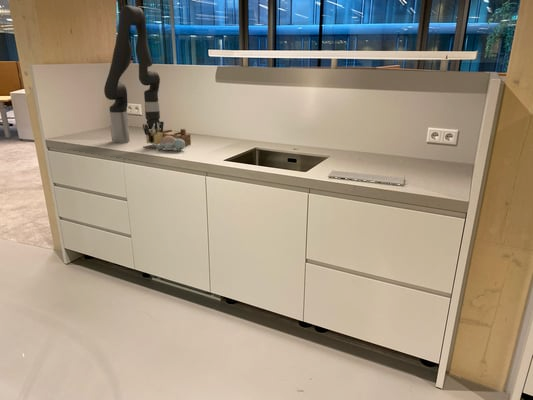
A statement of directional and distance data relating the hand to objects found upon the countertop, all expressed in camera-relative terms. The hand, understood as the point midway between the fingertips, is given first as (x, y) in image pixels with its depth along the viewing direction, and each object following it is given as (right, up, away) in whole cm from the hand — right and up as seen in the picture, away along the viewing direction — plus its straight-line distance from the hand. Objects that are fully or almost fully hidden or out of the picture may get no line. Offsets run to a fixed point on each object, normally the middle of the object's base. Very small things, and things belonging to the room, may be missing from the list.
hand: (154, 141), depth 225 cm
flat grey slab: (+105, -24, -49) cm, 118 cm away
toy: (+11, -6, -5) cm, 13 cm away
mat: (0, -3, +1) cm, 3 cm away
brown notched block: (+10, 0, +10) cm, 14 cm away
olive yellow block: (0, -1, 0) cm, 1 cm away
